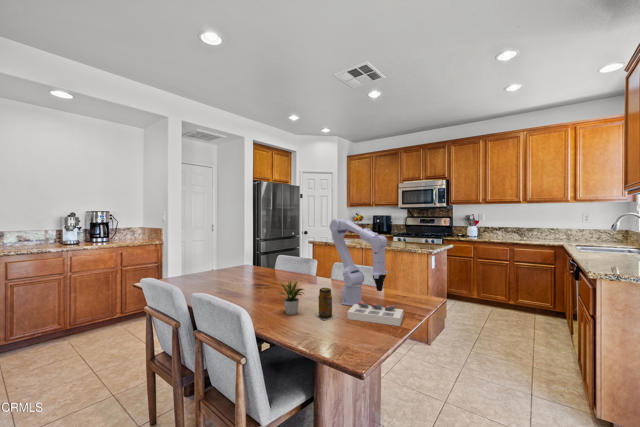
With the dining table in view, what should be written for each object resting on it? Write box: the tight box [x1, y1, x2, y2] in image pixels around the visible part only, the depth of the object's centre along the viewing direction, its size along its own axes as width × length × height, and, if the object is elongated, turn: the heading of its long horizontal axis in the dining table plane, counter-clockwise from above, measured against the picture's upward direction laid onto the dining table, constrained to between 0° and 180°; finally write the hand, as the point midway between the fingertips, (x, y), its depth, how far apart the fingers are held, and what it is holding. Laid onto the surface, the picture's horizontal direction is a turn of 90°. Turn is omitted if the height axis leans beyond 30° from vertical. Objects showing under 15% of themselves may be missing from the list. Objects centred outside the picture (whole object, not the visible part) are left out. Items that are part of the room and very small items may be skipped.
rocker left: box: [358, 301, 370, 308], centre depth 130 cm, size 4×3×2 cm
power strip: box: [347, 304, 404, 327], centre depth 127 cm, size 22×15×4 cm
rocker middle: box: [371, 302, 383, 309], centre depth 127 cm, size 4×3×2 cm
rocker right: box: [385, 304, 396, 311], centre depth 125 cm, size 4×3×2 cm
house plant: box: [277, 277, 305, 316], centre depth 132 cm, size 14×14×16 cm
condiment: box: [314, 287, 339, 321], centre depth 128 cm, size 7×8×12 cm
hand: (379, 290), depth 134 cm, fingers closed
